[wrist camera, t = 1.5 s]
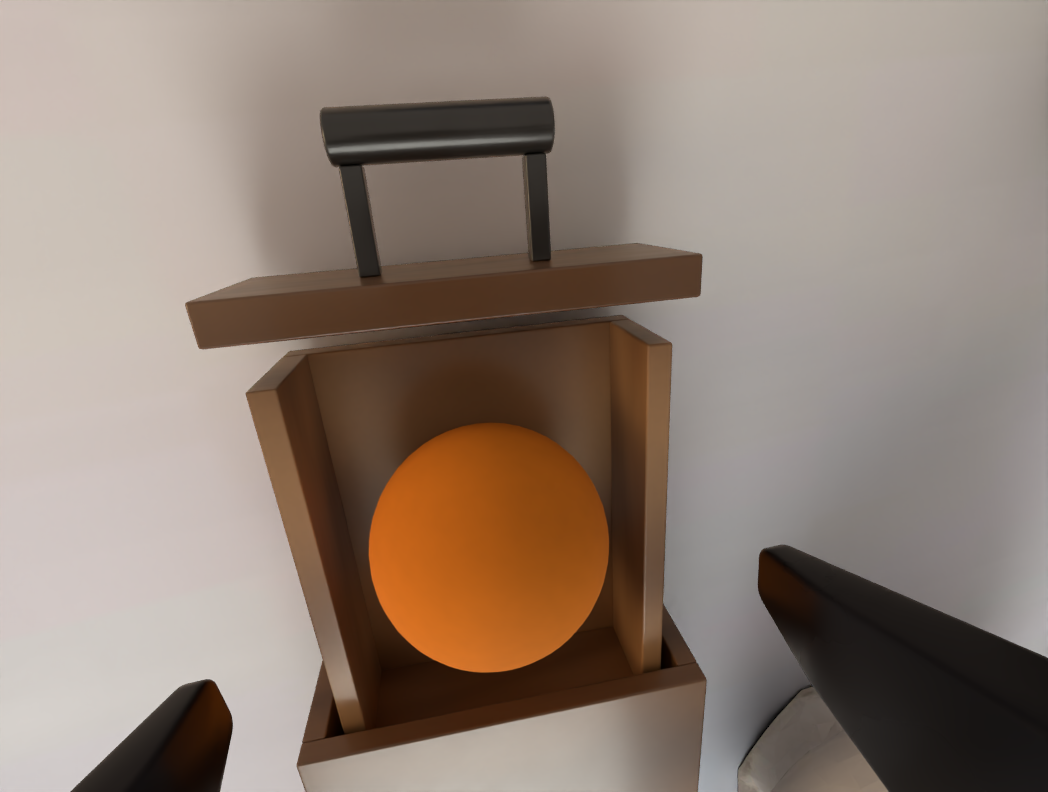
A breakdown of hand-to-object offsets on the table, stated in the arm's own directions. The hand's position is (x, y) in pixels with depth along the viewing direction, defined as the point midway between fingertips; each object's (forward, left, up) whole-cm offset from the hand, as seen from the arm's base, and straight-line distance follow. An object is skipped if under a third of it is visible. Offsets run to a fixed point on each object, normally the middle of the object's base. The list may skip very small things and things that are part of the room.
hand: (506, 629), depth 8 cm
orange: (0, +3, -11) cm, 11 cm away
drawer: (0, +2, -12) cm, 12 cm away
